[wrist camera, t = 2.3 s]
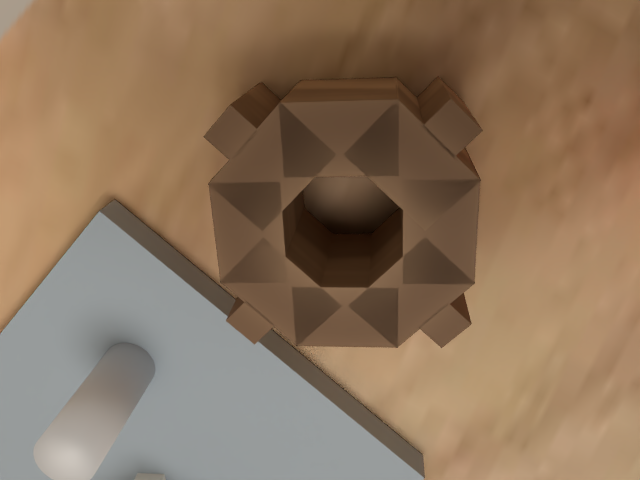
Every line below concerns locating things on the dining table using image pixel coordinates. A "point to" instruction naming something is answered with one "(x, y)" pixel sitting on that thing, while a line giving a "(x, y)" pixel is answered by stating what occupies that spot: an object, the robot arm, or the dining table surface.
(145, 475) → the gear
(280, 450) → the gear board
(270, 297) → the walnut gear
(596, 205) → the dining table surface
